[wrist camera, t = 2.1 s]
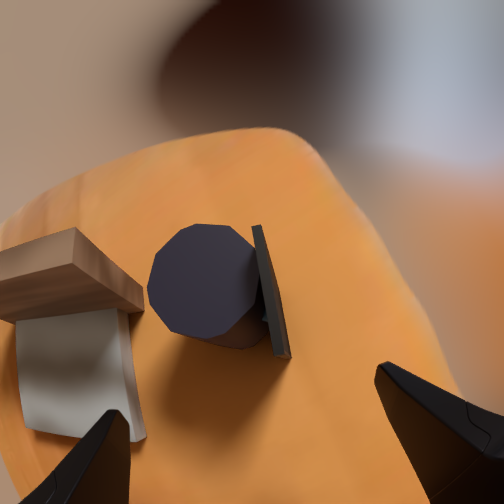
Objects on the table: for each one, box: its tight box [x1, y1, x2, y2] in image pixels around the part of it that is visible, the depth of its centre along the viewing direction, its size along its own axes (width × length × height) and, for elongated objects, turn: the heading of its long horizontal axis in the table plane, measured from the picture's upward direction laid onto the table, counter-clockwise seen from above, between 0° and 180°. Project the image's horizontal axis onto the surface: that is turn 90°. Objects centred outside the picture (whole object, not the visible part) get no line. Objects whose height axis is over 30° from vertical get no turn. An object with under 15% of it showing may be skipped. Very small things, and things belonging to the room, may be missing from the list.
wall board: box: [0, 227, 147, 442], centre depth 14 cm, size 12×15×10 cm
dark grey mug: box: [147, 224, 292, 359], centre depth 16 cm, size 8×6×10 cm
